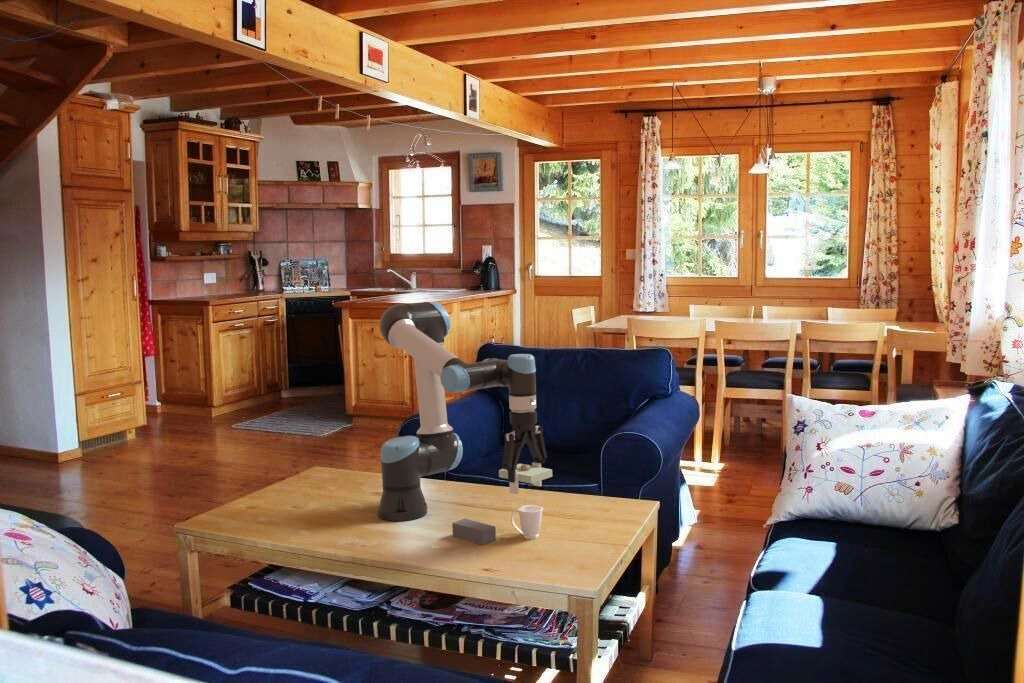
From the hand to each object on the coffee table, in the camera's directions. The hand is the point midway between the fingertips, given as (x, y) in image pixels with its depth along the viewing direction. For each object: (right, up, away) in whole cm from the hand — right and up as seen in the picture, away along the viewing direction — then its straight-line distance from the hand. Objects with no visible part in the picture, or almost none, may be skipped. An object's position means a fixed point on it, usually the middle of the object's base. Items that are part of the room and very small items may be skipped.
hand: (525, 489), depth 244 cm
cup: (0, -13, +2) cm, 14 cm away
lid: (0, +4, 0) cm, 4 cm away
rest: (-14, -14, 0) cm, 20 cm away
